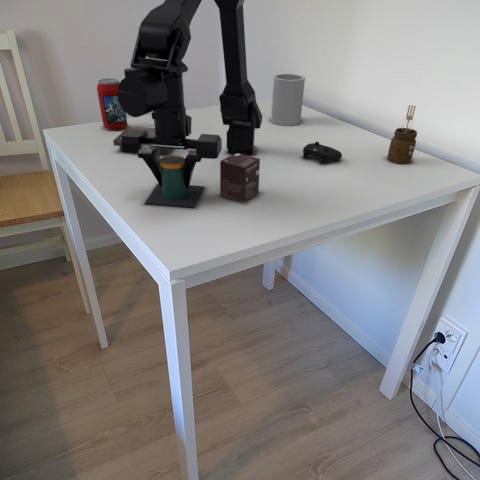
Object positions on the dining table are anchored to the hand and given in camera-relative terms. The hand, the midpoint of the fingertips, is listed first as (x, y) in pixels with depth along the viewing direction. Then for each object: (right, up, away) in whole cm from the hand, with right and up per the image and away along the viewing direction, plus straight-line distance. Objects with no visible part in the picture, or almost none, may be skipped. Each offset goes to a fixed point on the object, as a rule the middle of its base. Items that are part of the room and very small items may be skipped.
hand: (174, 186), depth 87 cm
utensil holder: (+54, +13, +21) cm, 59 cm away
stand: (-10, +18, +24) cm, 31 cm away
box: (+13, -1, +3) cm, 13 cm away
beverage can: (-22, +28, +36) cm, 50 cm away
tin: (0, -1, +1) cm, 2 cm away
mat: (0, -1, +1) cm, 2 cm away
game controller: (+33, +13, +20) cm, 41 cm away
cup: (+27, +34, +44) cm, 62 cm away
